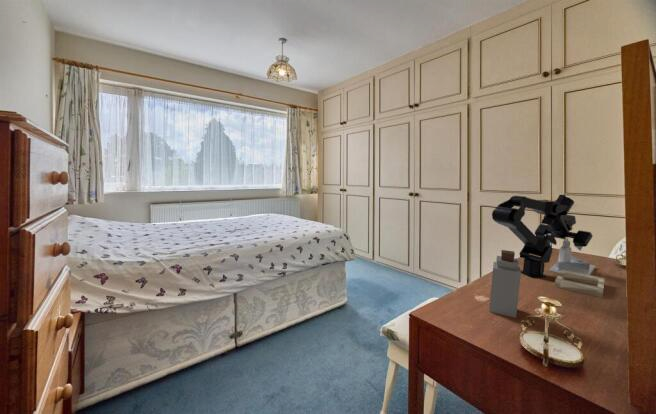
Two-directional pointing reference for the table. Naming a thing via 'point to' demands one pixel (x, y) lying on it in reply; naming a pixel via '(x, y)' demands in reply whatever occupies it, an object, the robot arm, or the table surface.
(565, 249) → the eye dropper bottle
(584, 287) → the beige square frame
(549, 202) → the robot arm
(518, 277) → the perfume bottle
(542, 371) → the table surface
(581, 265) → the silver tray
